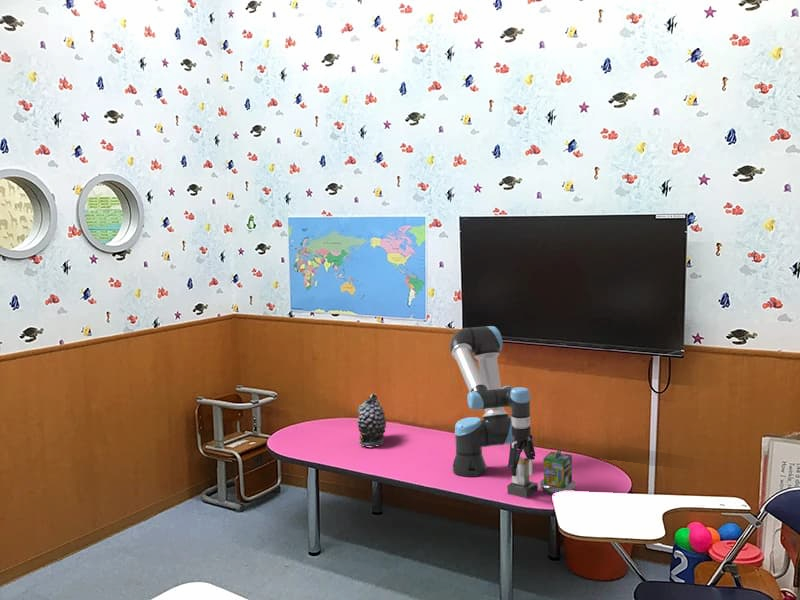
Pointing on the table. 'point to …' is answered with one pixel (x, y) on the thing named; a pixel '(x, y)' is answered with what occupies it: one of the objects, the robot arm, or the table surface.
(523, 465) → the white rectangular box
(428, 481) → the table surface
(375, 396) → the dark pine cone
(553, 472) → the chalk box
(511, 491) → the socket
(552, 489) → the rosette disc
